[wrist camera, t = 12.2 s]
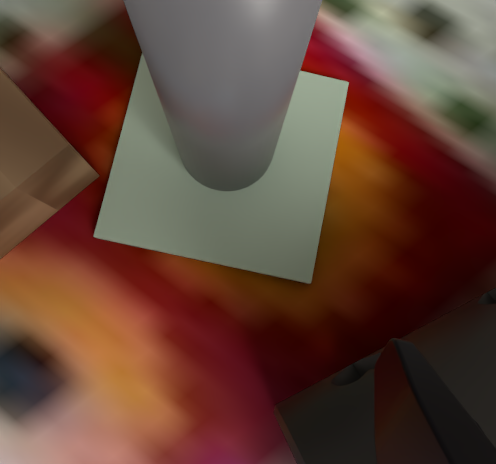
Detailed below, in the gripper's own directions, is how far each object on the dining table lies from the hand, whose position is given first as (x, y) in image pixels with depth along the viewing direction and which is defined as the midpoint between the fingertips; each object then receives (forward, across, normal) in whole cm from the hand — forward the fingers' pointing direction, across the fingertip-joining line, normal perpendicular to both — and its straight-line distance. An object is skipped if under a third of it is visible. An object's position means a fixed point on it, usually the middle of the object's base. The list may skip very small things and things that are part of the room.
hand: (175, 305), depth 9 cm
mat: (+11, 0, +2) cm, 11 cm away
